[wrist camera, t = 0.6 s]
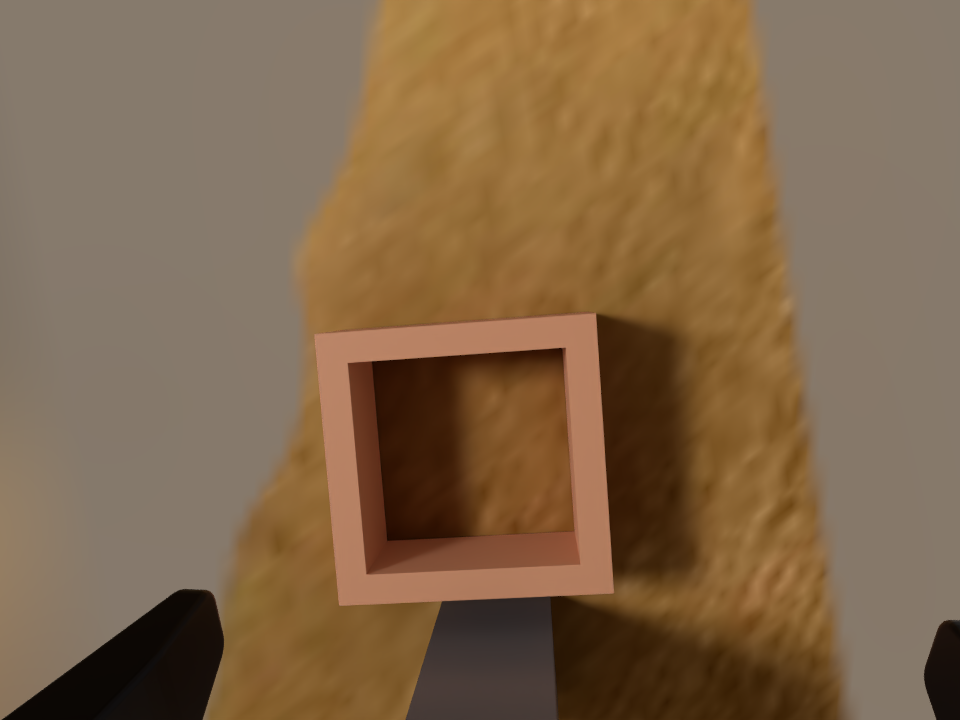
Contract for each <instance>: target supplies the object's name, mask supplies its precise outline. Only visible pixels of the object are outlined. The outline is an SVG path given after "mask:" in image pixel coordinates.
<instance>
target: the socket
mask: <svg viewBox="0 0 960 720" xmlns="http://www.w3.org/2000/svg"><path fill="white" fill-rule="evenodd" d="M314 335H315V346H316V357H317V368H318V379H319V390H320V401H321V412H322V423H323V434H324V444H325V455H326V466H327V477H328V488H329V499H330V510H331V521H332V532H333V543H334V554H335V565H336V575H337V586H338V597H339V606H344V605H366V604H389V603H411V602H433V601H456V600H478V599H500V598H523V597H545V596H567V595H590V594H612V593H614V587H613V572H612V556H611V540H610V525H609V509H608V494H607V478H606V463H605V447H604V432H603V416H602V400H601V385H600V369H599V354H598V338H597V323H596V313H591V312H580V313H566V314H553V315H539V316H526V317H512V318H499V319H486V320H472V321H459V322H445V323H432V324H418V325H405V326H391V327H378V328H364V329H351V330H340V331H333V332H326V333H319V334H314ZM552 348H562V351H563V365H564V380H565V395H566V410H567V425H568V439H569V454H570V469H571V484H572V498H573V513H574V528H575V531H570V532H550V533H531V534H511V535H492V536H472V537H453V538H434V539H414V540H395V541H387V531H386V520H385V508H384V496H383V485H382V473H381V462H380V450H379V439H378V427H377V415H376V404H375V392H374V381H373V369H372V361H382V360H396V359H411V358H425V357H439V356H453V355H467V354H481V353H495V352H509V351H524V350H538V349H552Z"/></svg>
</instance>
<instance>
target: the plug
mask: <svg viewBox="0 0 960 720" xmlns="http://www.w3.org/2000/svg"><path fill="white" fill-rule="evenodd" d="M406 720H559V717H558V700H557V685H556V671H555V657H554V643H553V628H552V614H551V600H550V596H545V597H523V598H500V599H478V600H456V601H442V604H441V607H440V610H439V613H438V617H437V620H436V623H435V626H434V630H433V633H432V636H431V639H430V643H429V646H428V649H427V652H426V655H425V659H424V662H423V665H422V668H421V672H420V675H419V678H418V681H417V685H416V688H415V691H414V694H413V697H412V701H411V704H410V707H409V710H408V714H407V717H406Z"/></svg>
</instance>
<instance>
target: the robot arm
mask: <svg viewBox="0 0 960 720" xmlns="http://www.w3.org/2000/svg"><path fill="white" fill-rule="evenodd" d="M223 649H224V636H223V631H222V627H221V622H220V618H219V614H218V609H217V605H216V600H215V598H214V595H213V594H212V593H211V592H210V591H207V590H194V589H182V590H179V591H177V592H175V593H173V594H172V595H170V596H169V597H168V598H166V599H165V600H164V601H162V602H161V603H160V604H158V605H157V606H155V607H154V608H153V609H151V610H150V611H149V612H148V613H146V614H145V615H143V616H142V617H141V618H139V619H138V620H136V621H135V622H134V623H133V624H131V625H130V626H128V627H127V628H126V629H124V630H123V631H121V632H120V633H119V634H117V635H116V636H115V637H113V638H112V639H111V640H109V641H108V642H107V643H105V644H104V645H102V646H101V647H100V648H98V649H97V650H96V651H94V652H93V653H92V654H90V655H89V656H88V657H86V658H85V659H84V660H82V661H81V662H79V663H78V664H77V665H75V666H74V667H73V668H71V669H70V670H69V671H67V672H66V673H64V674H63V675H62V676H60V677H59V678H58V679H56V680H55V681H54V682H52V683H51V684H50V685H48V686H47V687H45V688H44V689H43V690H41V691H40V692H39V693H37V694H36V695H35V696H33V697H32V698H31V699H29V700H28V701H27V702H25V703H24V704H23V705H21V706H20V707H18V708H17V709H16V710H14V711H13V712H12V713H10V714H9V715H7V716H6V717H5V718H3V719H2V720H203V717H204V713H205V710H206V707H207V704H208V700H209V697H210V694H211V691H212V687H213V684H214V681H215V678H216V674H217V671H218V668H219V664H220V661H221V658H222V654H223ZM924 681H925V686H926V690H927V693H928V696H929V699H930V702H931V705H932V708H933V711H934V713H935V717H936V720H960V620H959V621H958V620H948V621H944V622H943V623H942V624H941V625H940V626H939V628H938V630H937V633H936V636H935V639H934V642H933V645H932V648H931V651H930V654H929V657H928V660H927V663H926V666H925V670H924Z"/></svg>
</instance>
